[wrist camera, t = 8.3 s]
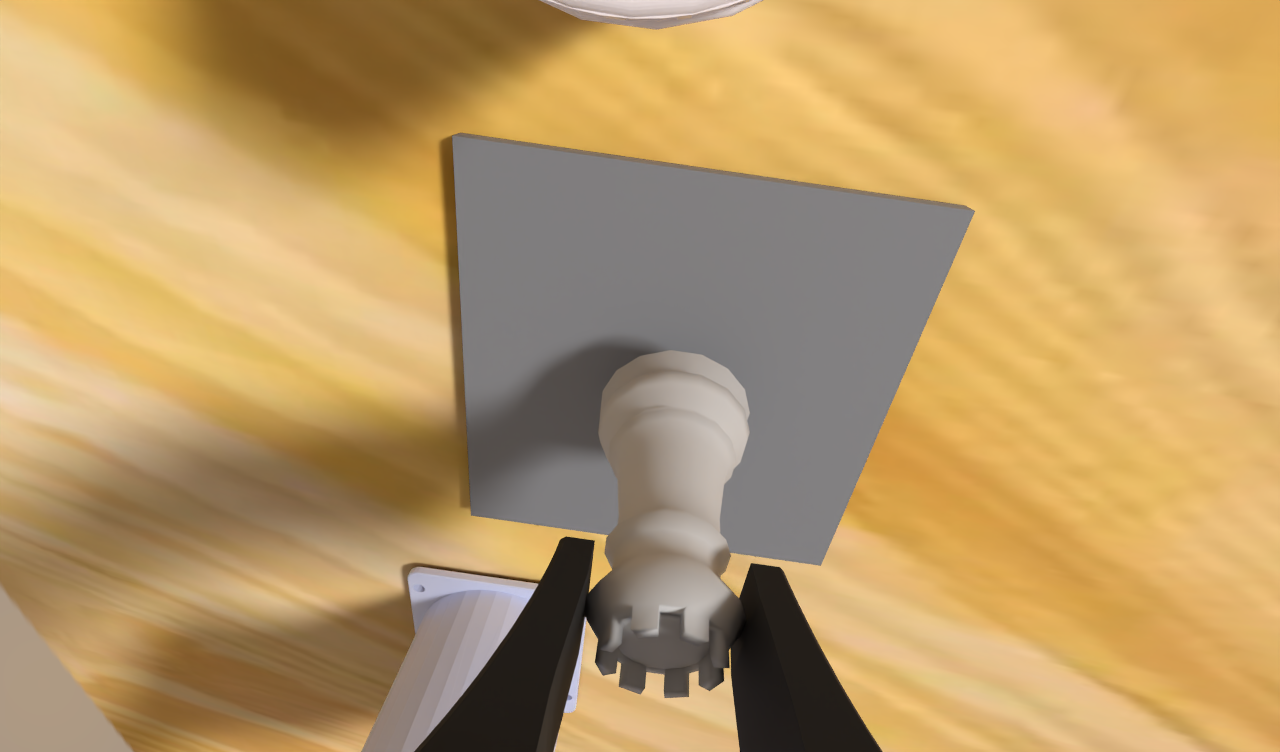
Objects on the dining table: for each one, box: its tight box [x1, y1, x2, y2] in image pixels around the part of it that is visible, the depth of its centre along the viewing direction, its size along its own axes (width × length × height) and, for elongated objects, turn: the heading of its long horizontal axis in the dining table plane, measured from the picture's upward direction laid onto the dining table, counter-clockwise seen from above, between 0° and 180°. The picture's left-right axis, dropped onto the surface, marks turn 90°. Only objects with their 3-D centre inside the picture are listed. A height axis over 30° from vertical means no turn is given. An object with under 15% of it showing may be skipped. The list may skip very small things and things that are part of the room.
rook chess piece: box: [584, 350, 750, 698], centre depth 14 cm, size 4×4×8 cm
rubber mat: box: [452, 133, 975, 566], centre depth 18 cm, size 14×14×1 cm
